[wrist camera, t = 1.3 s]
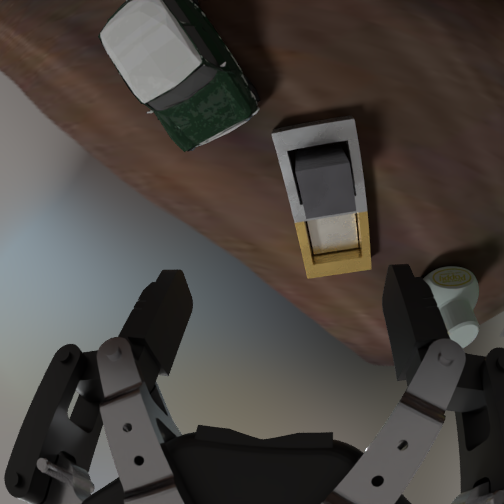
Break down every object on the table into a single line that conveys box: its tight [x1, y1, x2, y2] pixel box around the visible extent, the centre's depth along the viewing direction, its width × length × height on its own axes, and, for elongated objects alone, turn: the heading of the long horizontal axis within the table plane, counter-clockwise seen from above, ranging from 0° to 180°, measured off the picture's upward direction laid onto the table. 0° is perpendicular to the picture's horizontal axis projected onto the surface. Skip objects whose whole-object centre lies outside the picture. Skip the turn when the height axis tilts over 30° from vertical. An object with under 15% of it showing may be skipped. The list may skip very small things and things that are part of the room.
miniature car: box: [98, 0, 260, 152], centre depth 21 cm, size 9×18×8 cm, turn 29°
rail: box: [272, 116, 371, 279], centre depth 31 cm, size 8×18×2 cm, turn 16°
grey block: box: [295, 143, 356, 219], centre depth 27 cm, size 5×5×6 cm
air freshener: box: [423, 266, 479, 348], centre depth 32 cm, size 11×8×10 cm
